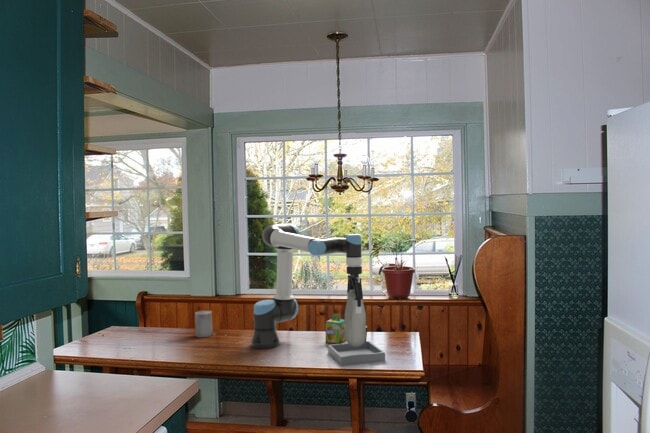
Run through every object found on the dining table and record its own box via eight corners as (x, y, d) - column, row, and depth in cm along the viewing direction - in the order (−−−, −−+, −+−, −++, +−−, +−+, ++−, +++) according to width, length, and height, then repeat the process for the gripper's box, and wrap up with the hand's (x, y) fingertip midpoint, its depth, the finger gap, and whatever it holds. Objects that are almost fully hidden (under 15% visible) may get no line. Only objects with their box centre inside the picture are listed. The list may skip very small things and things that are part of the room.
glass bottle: (363, 349, 253) (362, 291, 252) (342, 348, 256) (341, 290, 255) (368, 344, 262) (367, 287, 261) (348, 342, 265) (347, 287, 265)
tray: (328, 352, 267) (328, 345, 267) (369, 348, 273) (369, 341, 273) (341, 365, 246) (340, 357, 246) (385, 360, 251) (385, 352, 251)
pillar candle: (205, 332, 315) (203, 307, 315) (216, 334, 310) (215, 309, 309) (192, 336, 308) (191, 310, 307) (203, 338, 302) (202, 312, 301)
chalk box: (325, 342, 286) (324, 315, 286) (331, 338, 295) (330, 312, 294) (341, 344, 283) (340, 316, 282) (347, 340, 291) (346, 313, 291)
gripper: (369, 267, 248) (370, 315, 249) (354, 262, 270) (355, 306, 270) (354, 268, 246) (355, 316, 247) (340, 263, 268) (341, 307, 269)
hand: (355, 311), depth 259 cm, fingers closed on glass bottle, 10 cm apart
